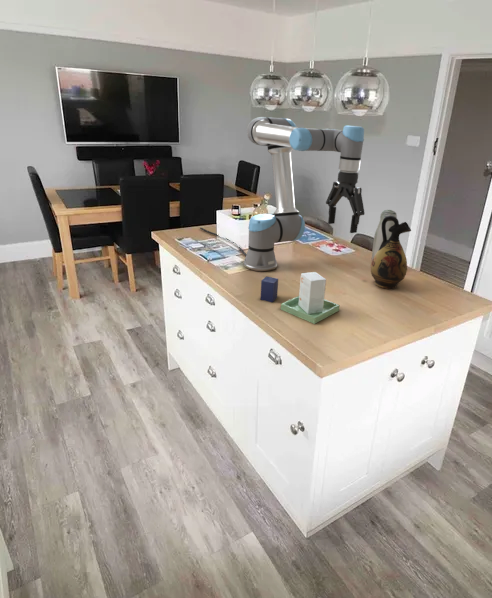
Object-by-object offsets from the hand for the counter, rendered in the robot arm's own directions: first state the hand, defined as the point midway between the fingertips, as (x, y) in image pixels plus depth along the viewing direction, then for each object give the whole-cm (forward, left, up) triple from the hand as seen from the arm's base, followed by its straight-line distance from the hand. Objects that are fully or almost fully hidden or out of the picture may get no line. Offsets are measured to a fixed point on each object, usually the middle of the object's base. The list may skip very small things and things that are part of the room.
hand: (341, 227), depth 162 cm
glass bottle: (-1, +42, -27) cm, 50 cm away
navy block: (-13, -26, -27) cm, 39 cm away
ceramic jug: (+11, +23, -27) cm, 37 cm away
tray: (+4, -22, -27) cm, 35 cm away
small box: (+4, -22, -26) cm, 35 cm away
